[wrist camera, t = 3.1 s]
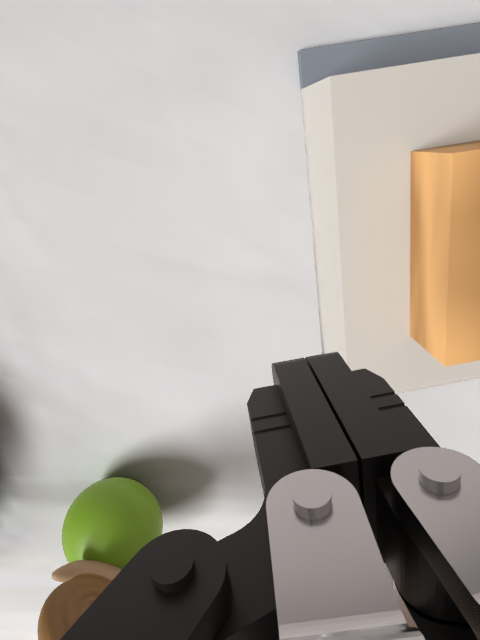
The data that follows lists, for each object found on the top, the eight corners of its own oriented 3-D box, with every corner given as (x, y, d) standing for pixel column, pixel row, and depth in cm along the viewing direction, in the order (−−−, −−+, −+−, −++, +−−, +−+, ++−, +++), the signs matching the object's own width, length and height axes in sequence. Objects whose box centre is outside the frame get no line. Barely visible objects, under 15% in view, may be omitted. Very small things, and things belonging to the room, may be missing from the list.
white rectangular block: (323, 360, 25) (349, 402, 21) (300, 89, 20) (330, 76, 16) (489, 329, 26) (547, 365, 22) (511, 56, 20) (594, 35, 16)
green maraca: (154, 540, 29) (134, 784, 18) (60, 509, 27) (-25, 758, 16) (194, 481, 28) (198, 707, 17) (97, 444, 26) (30, 670, 15)
